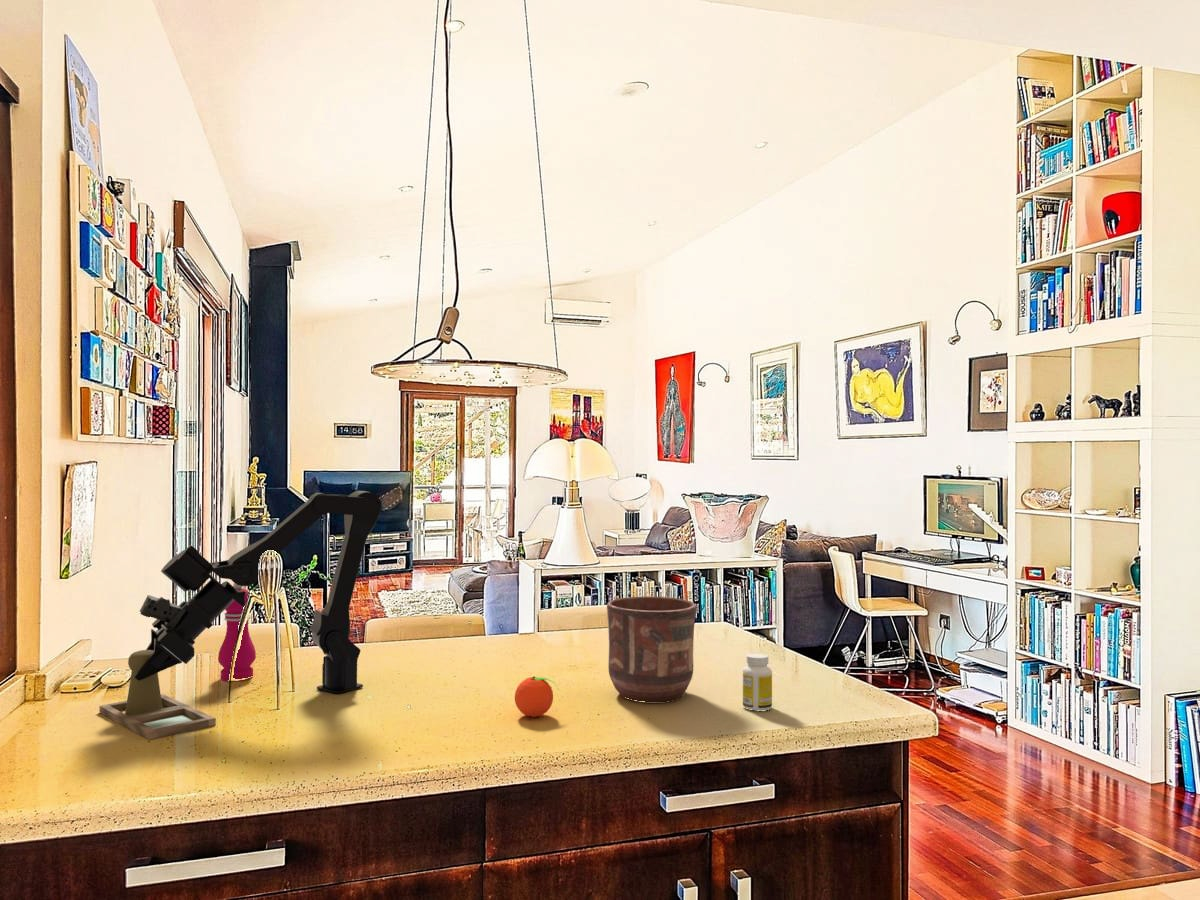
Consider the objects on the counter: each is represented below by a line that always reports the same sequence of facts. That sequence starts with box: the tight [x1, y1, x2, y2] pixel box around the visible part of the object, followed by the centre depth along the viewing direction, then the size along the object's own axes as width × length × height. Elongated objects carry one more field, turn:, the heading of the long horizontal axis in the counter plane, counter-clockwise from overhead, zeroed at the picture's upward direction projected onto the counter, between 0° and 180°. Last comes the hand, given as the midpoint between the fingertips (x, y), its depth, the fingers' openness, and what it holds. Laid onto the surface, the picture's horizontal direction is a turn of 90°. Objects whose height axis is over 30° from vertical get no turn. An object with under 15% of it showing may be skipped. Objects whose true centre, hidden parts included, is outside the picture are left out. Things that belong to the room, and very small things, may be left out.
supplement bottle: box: [742, 653, 773, 711], centre depth 167 cm, size 5×5×10 cm
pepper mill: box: [217, 582, 257, 682], centre depth 185 cm, size 7×7×20 cm
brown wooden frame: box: [98, 693, 217, 740], centre depth 157 cm, size 22×11×1 cm, turn 48°
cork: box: [124, 649, 163, 715], centre depth 160 cm, size 6×6×11 cm
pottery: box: [606, 595, 697, 703], centre depth 176 cm, size 18×18×18 cm
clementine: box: [514, 676, 560, 718], centre depth 161 cm, size 8×7×7 cm
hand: (135, 675), depth 160 cm, fingers open, 6 cm apart
